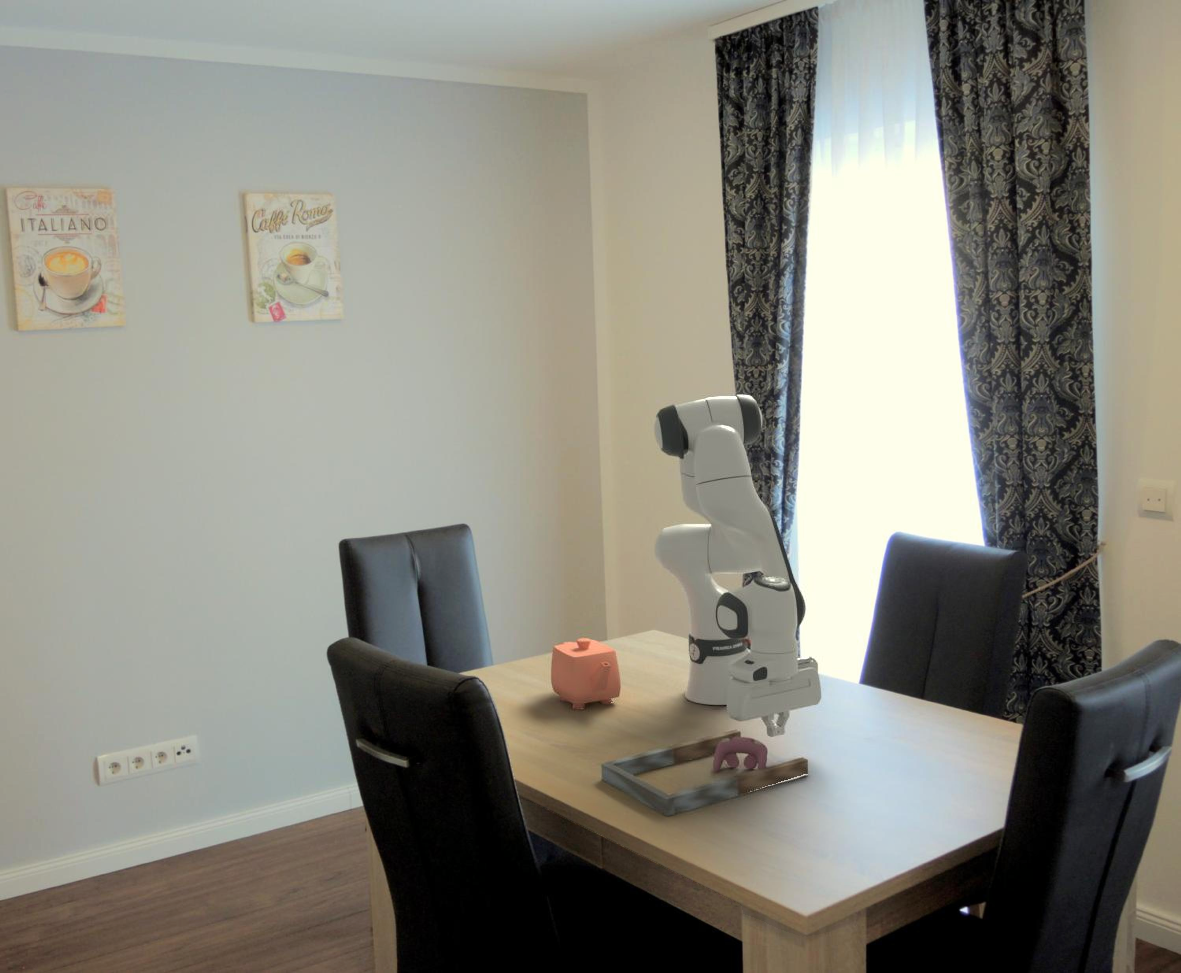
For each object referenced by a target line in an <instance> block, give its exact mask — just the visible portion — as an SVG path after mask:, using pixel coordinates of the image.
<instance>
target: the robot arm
mask: <svg viewBox="0 0 1181 973" xmlns="http://www.w3.org/2000/svg"><path fill="white" fill-rule="evenodd" d="M763 421H764V420H763V414H762V412H761V409H760V406H759V404H758V402H757V400H756V399H754V397H752V396H751V395H747V394H735V395H733V396H729V395H728V396H727V395H726V396H714V397H713V396H712V397H705V398H703V399H697V400H692V401H689V402H684V403H680V404H677V405H675V404H671V405H668V406H665V407H663V408H661V409H659V410H658V412H657V414H656V416H655V421H654V426H653V428H654V429H653V430H654V432H653V433H654V437H655V441H656V443H657V444H658V446H659V448H660V451H661V452H662V453H665V455H667V456H671V457H676V458H679V459H678V460H679V472H680V482H681V483H680V484H681V493H682V500H683V503H684V504H685V506H686V507H687V508H688V509H689V510H690V511H691V512H692V513H695V514H696V515H698V516H700V517H703V519H705V520H706V521H707V522H708V523H681V524H676V525H671V526H667V527H664V528H663V529H662V530H661V531H660V532H659V534H658V535H657V537H656V539H655V540H656V541H655V543H654V553H655V558H656V560H657V562H658V563H659V566H660V567H662V568H663V569H664V571H667V572H668V573H669V574H670V575H672V576H673V578H674V579H676V581H677V582H678V584H679V586H681V587H680V588H681V589H682V591H683V592H684V596H685V598H686V600H687V601H686V602H687V605H688V612H689V614H688V617H689V626H690V627H689V630H690V631H689V632H690V633H689V634H688V655H689V658H690V661H689V672H688V680H687V686H686V690H685V693H684V696H685V699H687V700H689V701H690V702H693V703H698V704H703V705H712V706H713V705H714V706H723V705H724V706H725V705H726V712H727V715H728V716H729V717H730V719H733V720H734V721H737V722H741V723H742V722H746V721H752V720H754V719H758V718H761V720H762V722H763V723H764V725H765V726H766V735H767V736H769V737H770V738H773V737H778V736H782V735H784V734H785V733H786V732H785V731H786V730H785V728H786V725H787V722H788V720H789V718H790V711H794V710H798V709H803V708H808V707H811V706H816V705H819V703H820V702H821V700H822V688H821V680H820V679H821V678H820V675H819V665H818V664H819V663H818V662H817V660H816V659H815V658H812V656H805V657H802V658H801V657H800V658H799V648H798V647H799V645H798V642H797V640H796V632H797V630H798V629H799V628H800V625H801V624H802V622H803V621H804V618H805V615H806V610H807V609H806V601H805V599H804V596H803V594H802V591H801V590H800V588H799V586H798V584H797V582H796V579H795V576H794V573H793V571H792V567H791V564H790V561H789V557H788V555H787V551H786V548H785V546H784V545H785V544H784V541H783V538H782V535H781V532H780V530H779V527H778V524H777V521H776V518H775V516H774V513H773V512H772V510H771V508H770V507H769V506H768V505H767V504H765V503H763V501H762V500H761V498H760V497H759V495H758V492H757V490H756V488H755V486H754V481H753V478H752V472H751V466H750V462H749V459H748V454H747V451H746V449H745V446H748V445H750V444H753V443H755V442H756V441H757V440H758V439H759V438H760V436H761V433H762V428H763ZM760 571H762V573H763V575H761V576H757V577H755V578H753V579H752V580H751V581H750V583H749V584H747V585H745V586H742V587H739V588H736V589H731V590H728V589H725V588H724V587H722V586H720V585H719V584H717V582H716V581H715V580H714V578H713V576H712V575H713V574H718V575H719V574H721V575H723V574H725V575H728V574H729V575H743V574H749V573H750V574H751V573H755V572H760ZM747 643H749V644H750V646H749V648H748V646H747ZM775 715H778V717H777V719H776V721H775V723H774V722H773V720H774V719H775Z"/></svg>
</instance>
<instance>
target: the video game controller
mask: <svg viewBox="0 0 1181 973" xmlns="http://www.w3.org/2000/svg"><path fill="white" fill-rule="evenodd" d="M768 752H769V751H768V747H767V746H766V745H765V744H764V743H763V742H761V741H760V740H757V739H754V738H751V737H748V736H747V737H746V736H741V737H732V738H726V739H723V740H722V741H721V742H719V744H718V745H717V748H716V751H715V753H714V754H713V762H712V769H713V772H714V773H718V772H719V771H720V770H721V768H722V766H723V763H724V761H725V762H726V764H727V766H728V767H729V768H731V769H736V768H737V767H739V765H740V759H739V756H738V755H737V754H746V756H745V757H744V759H743V767H745V769H748V770H754V769H755V768H756V766H757V770H759V769H762V768H766V767H767V762H768ZM735 767H736V768H735ZM753 768H754V769H753Z"/></svg>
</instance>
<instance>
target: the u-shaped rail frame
mask: <svg viewBox="0 0 1181 973" xmlns="http://www.w3.org/2000/svg"><path fill="white" fill-rule="evenodd" d="M741 733H742V732H741V731H740V730H738V729H733V730H729V731H724V732H720V733H718V734H713V735H708V736H705V737H701V738H697V739H693V740H689V741H685V742H682V743H678V744H677V743H676V744H673V745H669V746H665V747H661V748H658V749H654V750H649V751H646V752H641V753H637V754H635V755H634V754H633V755H630V756H626V757H623V758H618V759H613V760H610V761H605V762H603V763H601V765H600V766H601V780H603V781H604V782H606V783H608V784H609V785H610V786H613V787H614V788H616V789H618V790H620V791H621V792H623V793H625V794H626V795H628V796H630V797H632V798H634V799H636V800H637V801H639V802H641V803H642V804H644V805H647V806H648V807H650V808H652V809H653V810H654V811H656V812H658V813H660V814H662V815H664V816H666V817H671V816H674V815H677V814H682V813H685V812H688V811H690V810H691V811H692V810H694V809H699V808H702V807H706V806H708V805H712V804H716V803H719V802H723V801H726V800H729V799H733V798H735V797H734V796H736V797H739V796H738V795H740V796H742V795H741V794H743V795H746V794H745V793H747V794H749V793H748V792H750V791H754V790H756V789H760V788H762V787H765V786H768V785H772V784H776V783H778V782H781V781H784V780H788V779H791V778H794V777H797V776H801V775H803V774H808V775H809V759H807V758H806V757H799V758H794V759H792V760H788V761H785V762H781V763H777V764H774V765H771V766H766V768H762V769H759V770H758V769H756V770H752V771H748V772H744V773H742V774H738V775H734V776H730V777H728V778H727V777H726V778H724V779H723V778H722V779H720V780H716V781H713V782H709V783H706V784H701V785H699V786H695V787H694V786H693V787H691V788H687V789H684V790H681V791H676V792H674V793H669V794H668V793H667V792H665V791H663V790H661V789H659V788H658V787H656V786H654V785H653V784H651V783H649V782H646V781H645V780H642V779H640V778H639V777H637V776H635V775H637V774H641V773H645V771H646V772H649V771H652V770H656V769H661V768H664V767H668V766H672V765H677V764H679V763H683V762H686V761H687V762H688V761H691V760H693V759H698V758H702V757H706V756H710V755H713V754H712V753H714V754H715V751H716V748H717V745H718V744H719V742H721V741H722V740H723V739H726V738H732V737H742V734H741ZM709 754H710V755H709ZM701 756H702V757H701ZM690 759H691V760H690ZM760 790H761V789H760ZM754 792H755V791H754ZM750 793H751V792H750ZM732 797H733V798H732ZM728 798H729V799H728Z"/></svg>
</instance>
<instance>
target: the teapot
mask: <svg viewBox="0 0 1181 973" xmlns="http://www.w3.org/2000/svg"><path fill="white" fill-rule="evenodd" d="M620 675H621V674H620V669H619V663H618V657H617V652H616V651H615V650H614V649H613V648H612V647H610V646H609V645H606V644H604V643H602V642H600V641H599V640H596V639H591V638H587V637H586V638H583V637H582V638H578V639H576V641H574V642H573V641H567V642H566V641H564V642H561V644H556V645H553V647H552V656H551V666H550V678H551V679H550V681H551V682H550V683H551V686H552V691H553V692H554V693H555V694H556V695H558V696H559V697H560V698H559V701H560V700H562V701H561V702H569V703H571V704H572V707H571V708H572V709H573V708H575V709H574V710H582V709H581V708H583V709H585V708H586V704H588V703H595V702H599V703H600V704H601V703H602V705H610V703H611V702H613V703H614V701H613V700H612V699H615V698H619V697H620V693H621V676H620ZM611 704H612V703H611ZM584 707H585V708H584Z"/></svg>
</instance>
